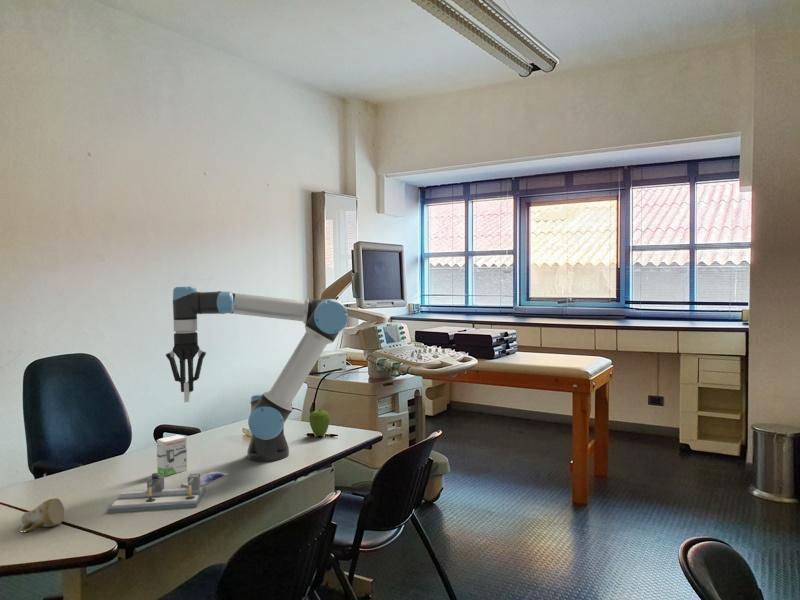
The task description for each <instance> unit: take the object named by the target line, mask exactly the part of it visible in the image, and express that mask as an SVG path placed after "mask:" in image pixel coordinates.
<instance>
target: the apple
mask: <svg viewBox="0 0 800 600" xmlns="http://www.w3.org/2000/svg"><path fill="white" fill-rule="evenodd" d="M309 414H310V415H309V418H308V419H309V420H308V421H309V426H310V428H311V431H312V433H313V434H314V435H315V436H316V437H318V436H322V437H324V436H325V435H326V433H327V431H328V429H329V425H330V420H331V419H330V418H331V416H330V414H329V412H328V411H327V410H324V409H316V410H313V411H312V412H311V413H309ZM323 435H324V436H323Z"/></svg>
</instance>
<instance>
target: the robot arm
mask: <svg viewBox="0 0 800 600" xmlns="http://www.w3.org/2000/svg"><path fill="white" fill-rule="evenodd" d="M172 310H173V311H172V314H173V315H172V316H173V332H174V334H173V348H172V350H170V351H169V352H168V353H166V354H165V356H166V358H167V360H168V361H169V363H170V365H169V366H170V368H171V373H172V375H173V378H174V381H175V382H179V384H180V392H181V393H183V401H184V403H190V402H191V400H192V395H191V393H192V392H193V391H194V382H196V381H198V380H199V379H200V374H201V372H202V371H201V370H202V365H203V361H204V358H205V357H206V355H207V352H206V351H203V350H201V349H200V346H199V343H198V341H199V340H198V338H199V337H198V332H197V331H198V315H206V314H207V315H216V314H218V315H219V314H220V315H224V314H232V315H233V314H235V315H243V316H251V317H261V318H269V319H279V320H288V321H297V322H302V323H303V324H304V328H305V333H304V335H303V336H302V338H301V339H300V341H299V343H298V344H297V346H296V348H295V349H294V351H293V353H292V354H291V356H290V358H289V359H288V361H287V362H286V364H285V366H284V367H283V369H282V370H281V372H280V374H279V375H278V377H277V379H276V380H275V382H274V384H273V385H272V387H271V389H270V390H269V391H265V392H263V393H260V394H253V395H252V396H251V397H250V403H249V404H250V414H249V416H248V422H247V424H248V428H249V431H250V433H251V437H250V441H249V445H248V448H247V456H246V457H247V460H250V461H255V462H271V461H273V462H274V461H278V460H283V459H285V458H287V457H289V456H290V448H289V447H290V446H289V444H288V442H287V439H286V436H285V433H284V432H285V431H284V430H285V428H284V427H285V426H284V425H285V423H286V421H287V419H288V418H289V416H290V415H291V412H292V410H293V406H292V403H293V401H294V399H295V398H296V396H297V394H298V393H299V391H300V390H301V388H302V386H303V384H304V383H305V381H306V380H307V378H308V376H309V375H310V373H311V371H312V370H313V368H314V367H315V365H316V363H317V362H318V360H319V358H320V357H321V354H322V353H323V352H324V350H325V349H326V347H327V345H329V344H333V343H334V342H335V340H336V339H337V337H338V335H339V334H340V332H341V331H342V330H343V329H344V328H346V325H347V323H348V321H349V320H348V319H349V315H348V312H349V311H348V310H347V307H346V306H345V305H344V304H343V303H342V302H341V301H339V300H338V299H335V298H323V299H315V298H307V299H305V300H297V299H289V298H278V297H273V296H264V295H263V296H262V295H254V294H253V295H252V294H245V293H235V292H231V291H223V290H217V291H205V292H204V291H202V292H201V291H198V289H197V287H196V286H176V287H174V288H173V291H172ZM196 355H197V357H198V359H197V363H196V367H195V372H194V358H195V357H196ZM175 356H176V357H177V358H178V359H179V370H178V365H177V362H176V358H175ZM186 360H187V377H188V380H187V378H186Z"/></svg>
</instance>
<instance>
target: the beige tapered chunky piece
mask: <svg viewBox="0 0 800 600" xmlns="http://www.w3.org/2000/svg"><path fill="white" fill-rule="evenodd" d="M65 511H66V510H65V507H64V505H63V502H62V501H61V500H60V499H59V498H50V499H47V500H44V502H43V501H42V503H40V504H39V505H38V506H36V507H35V508H34V509H31V510H29V511H25V512H24V513H23V514H22V516H21V518H20V523H21V525H22V526H21V527H20V528H19V530H20V531H23V532H24V531H29V532H32V531H33V530H35V529H37V528H38V527H43V528H51V527H52V528H53V527H55V526H58V525H60V524H62V522H63V521H64V519H65ZM27 526H31V527H27ZM25 528H27V529H25Z"/></svg>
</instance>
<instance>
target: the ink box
mask: <svg viewBox="0 0 800 600" xmlns="http://www.w3.org/2000/svg"><path fill="white" fill-rule="evenodd" d="M187 444H188V443H187V436H184V435H181V434H175V435H171V436H167V437H161V438H158V439H157V440H156V461H157V462H156V463H157V466H156V467H157V472H156V473H159V475H164V477H168V476H171V475H175V474H178V473H182V472H184V471H188V448H187V447H188V446H187Z"/></svg>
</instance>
